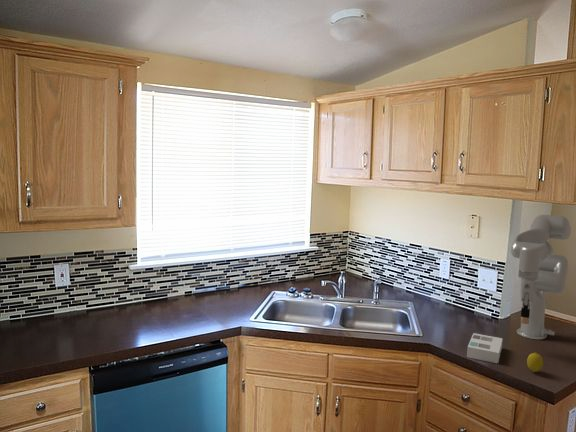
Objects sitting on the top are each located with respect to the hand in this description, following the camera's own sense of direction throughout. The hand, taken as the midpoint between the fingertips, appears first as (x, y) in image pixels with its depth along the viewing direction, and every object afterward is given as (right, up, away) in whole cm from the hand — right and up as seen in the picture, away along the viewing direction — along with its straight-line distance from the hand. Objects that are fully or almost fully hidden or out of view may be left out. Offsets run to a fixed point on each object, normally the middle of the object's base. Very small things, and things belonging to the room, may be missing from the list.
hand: (525, 315), depth 197 cm
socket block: (-18, -16, -1) cm, 24 cm away
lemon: (-6, -18, -19) cm, 27 cm away
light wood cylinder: (0, -3, 0) cm, 3 cm away
